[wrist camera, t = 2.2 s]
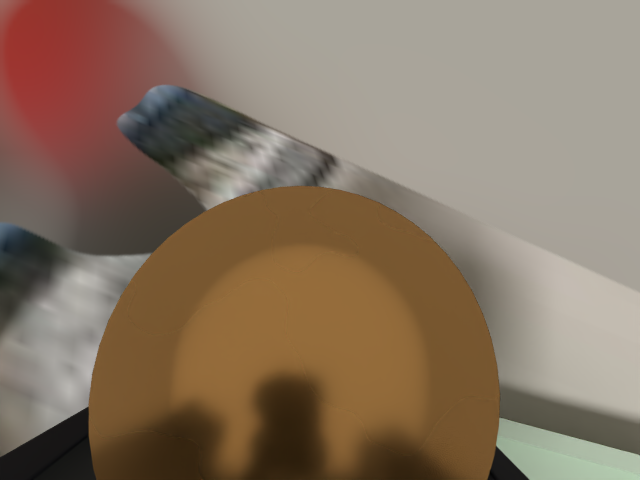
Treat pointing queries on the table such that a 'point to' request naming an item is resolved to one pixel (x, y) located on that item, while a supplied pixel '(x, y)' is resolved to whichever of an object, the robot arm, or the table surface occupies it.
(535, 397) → the table surface
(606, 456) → the tray
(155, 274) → the grey and gold cylinder
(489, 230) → the table surface
